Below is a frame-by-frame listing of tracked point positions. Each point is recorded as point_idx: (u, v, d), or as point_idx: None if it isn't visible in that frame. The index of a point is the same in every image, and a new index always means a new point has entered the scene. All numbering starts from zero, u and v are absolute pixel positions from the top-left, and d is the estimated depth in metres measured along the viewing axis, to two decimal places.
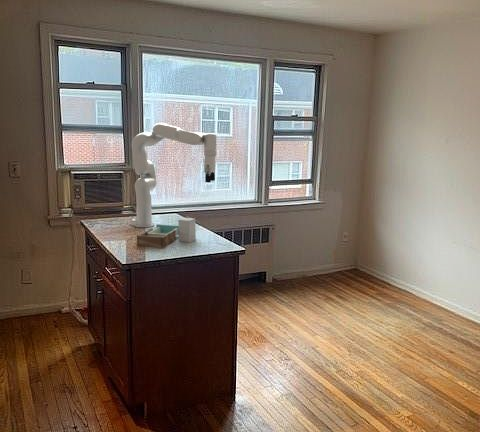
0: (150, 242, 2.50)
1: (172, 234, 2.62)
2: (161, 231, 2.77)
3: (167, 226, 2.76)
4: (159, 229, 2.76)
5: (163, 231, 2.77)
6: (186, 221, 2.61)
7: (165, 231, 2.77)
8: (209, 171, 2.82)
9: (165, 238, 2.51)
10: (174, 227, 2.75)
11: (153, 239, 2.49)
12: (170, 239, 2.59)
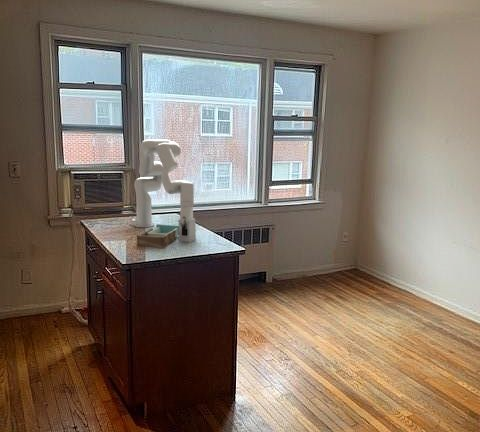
0: (150, 242, 2.50)
1: (172, 234, 2.62)
2: (161, 231, 2.77)
3: (167, 226, 2.76)
4: (159, 229, 2.76)
5: (163, 231, 2.77)
6: None
7: (165, 231, 2.77)
8: (186, 223, 2.61)
9: (165, 238, 2.51)
10: (174, 227, 2.75)
11: (153, 239, 2.49)
12: (170, 239, 2.59)
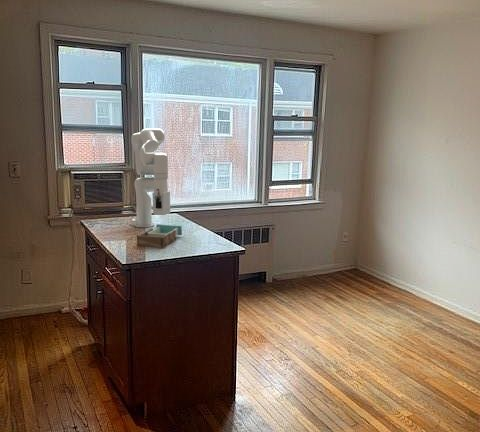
0: (150, 242, 2.50)
1: (172, 234, 2.62)
2: (161, 231, 2.77)
3: (167, 226, 2.76)
4: (159, 229, 2.76)
5: (163, 231, 2.77)
6: None
7: (165, 231, 2.77)
8: (159, 196, 2.56)
9: (165, 238, 2.51)
10: (174, 227, 2.75)
11: (153, 239, 2.49)
12: (170, 239, 2.59)
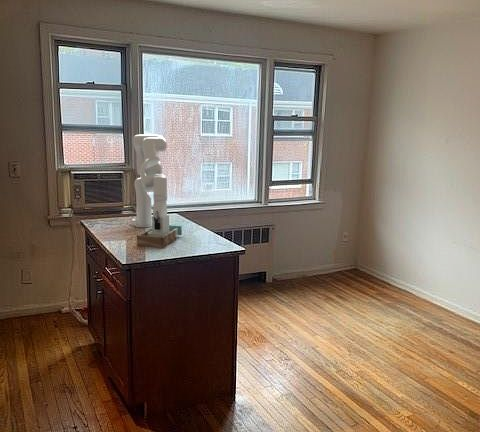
0: (150, 242, 2.50)
1: (172, 234, 2.62)
2: None
3: None
4: None
5: None
6: None
7: None
8: (158, 217, 2.58)
9: (165, 238, 2.51)
10: (174, 227, 2.75)
11: (153, 239, 2.49)
12: (170, 239, 2.59)
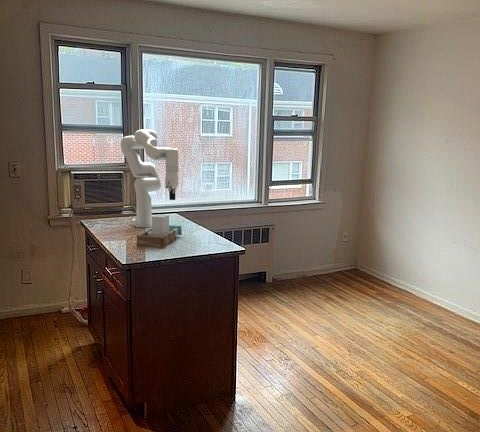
0: (150, 242, 2.50)
1: (172, 234, 2.62)
2: None
3: None
4: None
5: None
6: (159, 218, 2.59)
7: None
8: (172, 189, 2.76)
9: (165, 238, 2.51)
10: (174, 227, 2.75)
11: (153, 239, 2.49)
12: (170, 239, 2.59)
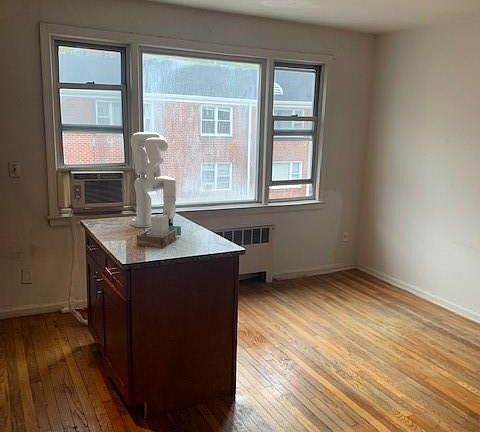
0: (150, 242, 2.50)
1: (172, 234, 2.62)
2: None
3: None
4: None
5: None
6: (159, 218, 2.58)
7: None
8: (170, 219, 2.75)
9: (165, 238, 2.51)
10: (173, 227, 2.74)
11: (153, 239, 2.49)
12: (170, 239, 2.59)
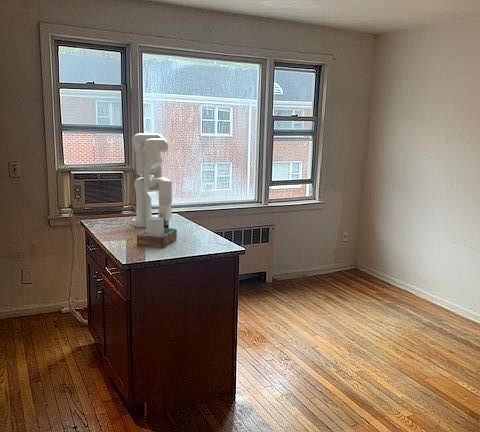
0: (150, 242, 2.50)
1: (172, 234, 2.62)
2: None
3: None
4: None
5: None
6: (154, 221, 2.52)
7: None
8: (165, 221, 2.68)
9: (165, 238, 2.51)
10: (169, 230, 2.67)
11: (153, 239, 2.49)
12: (170, 239, 2.59)
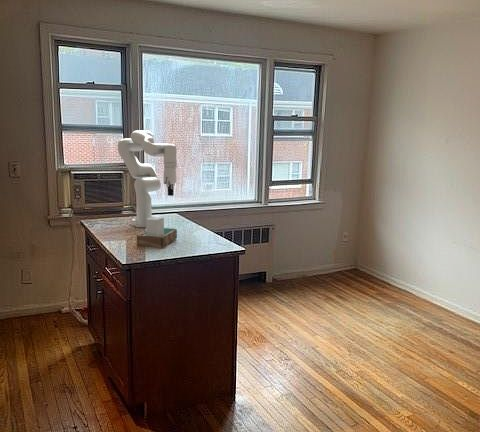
0: (150, 242, 2.50)
1: (172, 234, 2.62)
2: None
3: None
4: None
5: None
6: (154, 220, 2.52)
7: None
8: (170, 185, 2.78)
9: (165, 238, 2.51)
10: (169, 230, 2.67)
11: (153, 239, 2.49)
12: (170, 239, 2.59)
